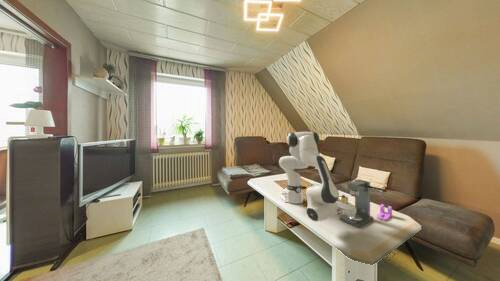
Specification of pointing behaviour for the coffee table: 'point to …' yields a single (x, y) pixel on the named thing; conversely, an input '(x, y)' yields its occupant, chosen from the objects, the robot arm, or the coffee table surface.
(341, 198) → the bottle
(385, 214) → the bracket
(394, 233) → the coffee table surface
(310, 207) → the robot arm
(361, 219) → the press
